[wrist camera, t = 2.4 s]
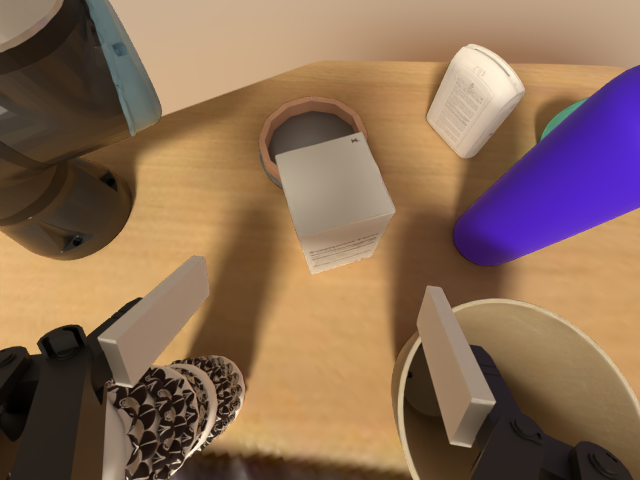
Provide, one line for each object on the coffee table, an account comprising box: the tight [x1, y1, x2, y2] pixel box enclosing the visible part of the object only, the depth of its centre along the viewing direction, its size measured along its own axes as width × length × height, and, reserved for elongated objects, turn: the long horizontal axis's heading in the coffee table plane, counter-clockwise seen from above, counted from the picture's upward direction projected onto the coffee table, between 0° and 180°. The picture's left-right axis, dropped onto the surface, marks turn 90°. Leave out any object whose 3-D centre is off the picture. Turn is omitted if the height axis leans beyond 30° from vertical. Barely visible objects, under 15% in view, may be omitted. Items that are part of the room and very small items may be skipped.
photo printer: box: [426, 44, 525, 158], centre depth 37 cm, size 10×4×12 cm, turn 30°
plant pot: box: [391, 298, 640, 480], centre depth 24 cm, size 15×15×16 cm
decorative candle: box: [6, 355, 245, 480], centre depth 20 cm, size 9×9×25 cm
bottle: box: [453, 65, 640, 266], centre depth 23 cm, size 8×8×30 cm
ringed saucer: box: [258, 96, 368, 189], centre depth 42 cm, size 17×17×3 cm
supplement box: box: [275, 132, 396, 275], centre depth 31 cm, size 9×9×15 cm
